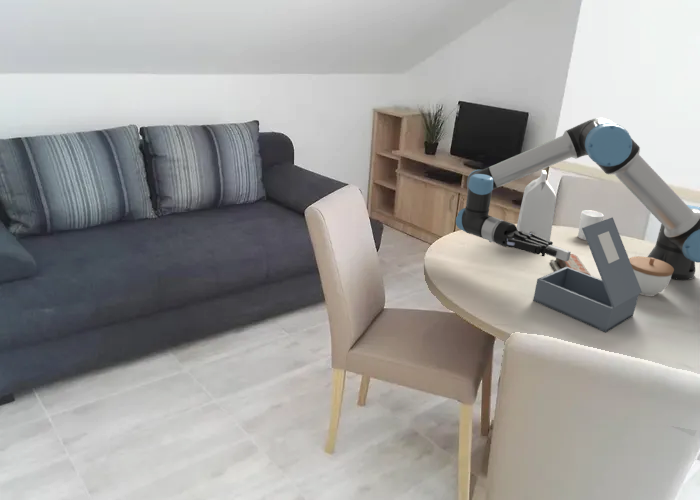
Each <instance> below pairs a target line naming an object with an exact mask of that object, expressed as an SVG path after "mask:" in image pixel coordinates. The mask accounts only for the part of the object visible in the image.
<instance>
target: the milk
mask: <svg viewBox="0 0 700 500" xmlns="http://www.w3.org/2000/svg"><path fill="white" fill-rule="evenodd" d="M547 176H548V173H547V171H546V170H545V169H542V170H541V172H540V176H538V177H537V178H536V179H533V180H532V181H530V183H528V184H527V185H526V186H525V188H524V191H523V195H522V196H523V197H522V200H521V205H520V209H519V213H518V218H517V219H518V220H517V224H516V228H517V230H518V231H523V232H525V233H526V234H529V233H530V232H534V233H535V234H536V235H539V236H541V237H543V238H545V239H547V240H549V241H551V236H552V230H553V229H552V228H553V222H554V216H555V209H556V203H557V195H556V192H555V190H554V188H553V187H552V185H551V184H550V182H549V181H548V180H547V178H548V177H547Z"/></svg>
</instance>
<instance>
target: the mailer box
mask: <svg viewBox="0 0 700 500" xmlns="http://www.w3.org/2000/svg"><path fill="white" fill-rule="evenodd" d="M590 275H591V274H590ZM590 275H588V274H585V273H582V272H580V271H577V270H574V269H572V268H569V267H564V268H562V269H560V270H557V271H553V272H550V273H548V274H546V275H543V276H541V277H539V278H537V280H536V284H535V289H534V290H535V291H534V294H533V299H532V301H533V302H535V303H537V304H539V305H542V306H543V307H547V308H548V309H551V310H553V311H555V312H558V313H561V315H565V316H567V317H570V318H572V319H574V320H576V321H578V322H581V323H583V324H585V325H587V326H590V327H592V328H595V329H597V330H599V331H601V332H603V333H608V332H609V331H610V330H613V329H614V328H616V327H617V326H619V325H620V324H622V323H623V322H625V321H627V320H629V319H631V318H632V317H633V316H634V314H635V310H636V306H637V304H638V299H639V296H640V294H638V295H636V296H634V297H632V298H631V299H629V300H627V301H625V302H623V303H622V304H620V305H618V306H616V307H614V308H613V307H612V305H611V302H610V300H609V297H608V295H607V292H606V289H605V287H604V284H603V282H602V279H601V278H598V277H596V276H593V275H591V276H590Z"/></svg>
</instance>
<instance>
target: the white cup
mask: <svg viewBox="0 0 700 500" xmlns="http://www.w3.org/2000/svg"><path fill="white" fill-rule="evenodd" d="M603 218H604V214H603V213H602V212H600V211H596V210H591V209H590V210H589V209H587V210H586V209H585V210H581V214H580V218H579V226H578V234H577V237H578V239H581V240H584V241H587V240H586V237H585V235H584V232H583V230H582V228H584V227H587V226H589V225H592V224H595V223H598V222H601V221H603V220H604V219H603Z"/></svg>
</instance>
